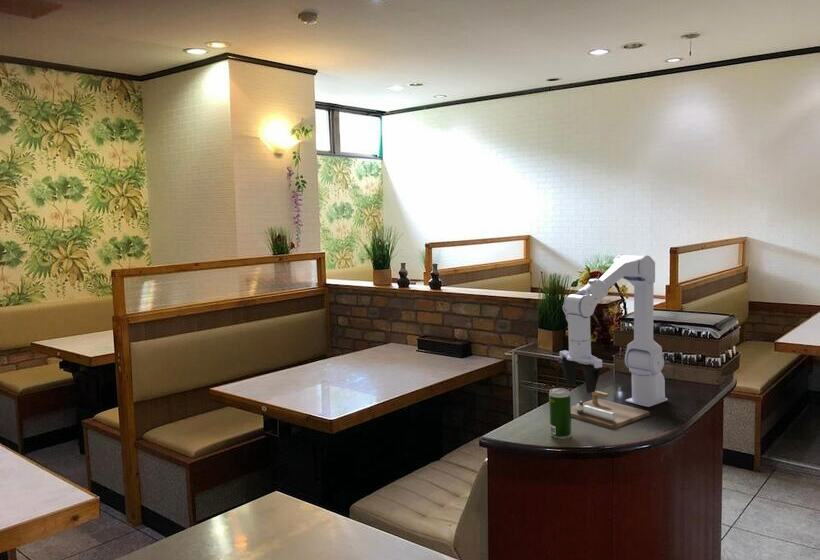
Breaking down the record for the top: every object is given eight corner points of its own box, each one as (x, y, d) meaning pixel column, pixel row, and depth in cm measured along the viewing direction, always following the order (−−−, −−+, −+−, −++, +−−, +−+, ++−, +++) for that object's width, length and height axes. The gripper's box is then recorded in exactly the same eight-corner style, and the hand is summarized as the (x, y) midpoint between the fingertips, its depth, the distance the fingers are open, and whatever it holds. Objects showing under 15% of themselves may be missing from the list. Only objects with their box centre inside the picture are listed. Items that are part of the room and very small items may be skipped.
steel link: (574, 411, 184) (574, 401, 183) (580, 409, 185) (580, 399, 185) (610, 421, 174) (610, 411, 173) (616, 419, 175) (616, 409, 175)
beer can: (561, 441, 166) (559, 395, 165) (546, 435, 170) (544, 390, 169) (576, 435, 169) (574, 390, 167) (560, 430, 173) (559, 386, 172)
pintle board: (597, 401, 196) (597, 386, 195) (649, 415, 181) (649, 399, 180) (560, 413, 187) (560, 398, 186) (612, 429, 172) (611, 412, 171)
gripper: (550, 337, 178) (551, 385, 180) (586, 346, 165) (588, 398, 167) (570, 333, 181) (571, 381, 183) (607, 341, 169) (609, 393, 170)
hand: (581, 388), depth 175 cm, fingers open, 7 cm apart
